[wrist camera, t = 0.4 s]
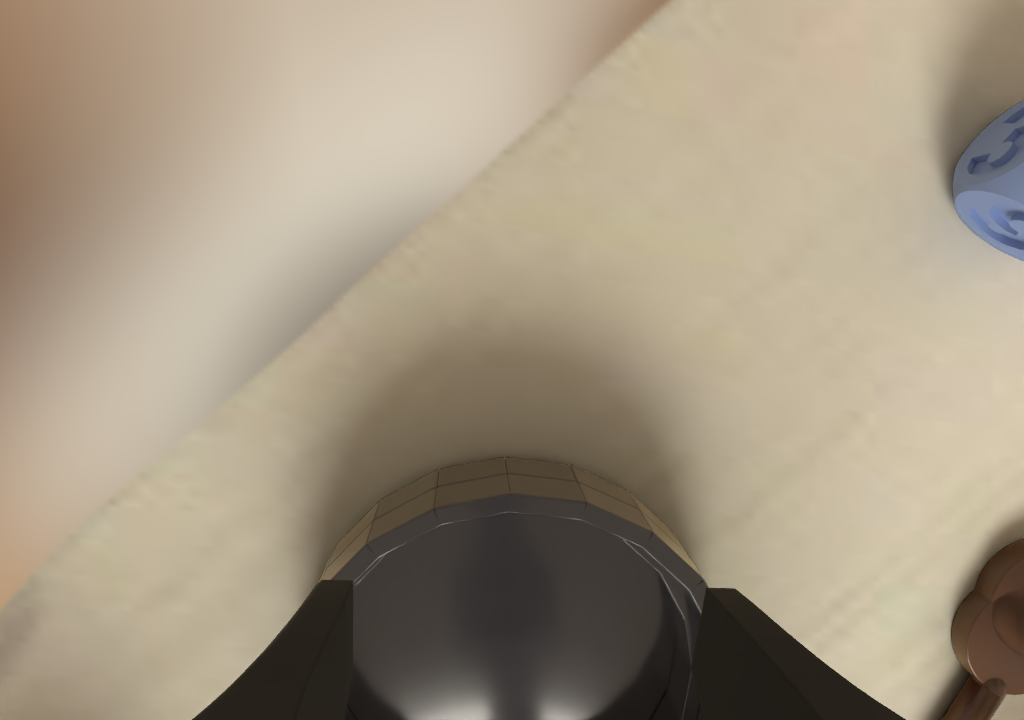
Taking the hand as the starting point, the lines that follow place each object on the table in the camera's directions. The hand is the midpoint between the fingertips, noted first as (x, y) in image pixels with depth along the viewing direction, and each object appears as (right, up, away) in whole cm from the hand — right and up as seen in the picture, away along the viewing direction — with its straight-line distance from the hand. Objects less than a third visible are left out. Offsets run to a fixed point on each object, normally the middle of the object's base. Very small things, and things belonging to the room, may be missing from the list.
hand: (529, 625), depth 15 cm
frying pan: (0, -5, +12) cm, 13 cm away
